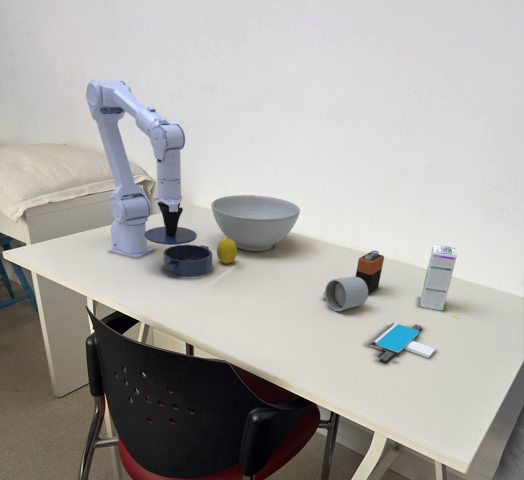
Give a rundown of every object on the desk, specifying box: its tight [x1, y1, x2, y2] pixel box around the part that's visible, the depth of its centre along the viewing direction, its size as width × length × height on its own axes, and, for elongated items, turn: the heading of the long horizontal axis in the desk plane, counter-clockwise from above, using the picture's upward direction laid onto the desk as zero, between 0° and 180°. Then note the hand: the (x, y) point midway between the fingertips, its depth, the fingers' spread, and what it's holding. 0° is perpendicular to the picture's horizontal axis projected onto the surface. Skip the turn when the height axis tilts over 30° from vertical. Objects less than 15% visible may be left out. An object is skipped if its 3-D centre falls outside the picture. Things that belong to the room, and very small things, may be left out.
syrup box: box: [419, 244, 458, 311], centre depth 122 cm, size 6×6×14 cm
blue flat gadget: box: [367, 322, 436, 364], centre depth 106 cm, size 20×12×2 cm, turn 143°
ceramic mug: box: [322, 276, 369, 312], centre depth 121 cm, size 11×8×8 cm
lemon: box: [216, 236, 238, 265], centre depth 138 cm, size 6×6×8 cm
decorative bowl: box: [211, 194, 301, 252], centre depth 154 cm, size 27×27×12 cm
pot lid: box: [144, 225, 198, 246], centre depth 129 cm, size 13×13×5 cm
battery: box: [355, 250, 385, 295], centre depth 129 cm, size 4×7×10 cm, turn 143°
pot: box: [162, 244, 213, 278], centre depth 134 cm, size 13×18×5 cm
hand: (170, 232), depth 129 cm, fingers closed on pot lid, 2 cm apart
